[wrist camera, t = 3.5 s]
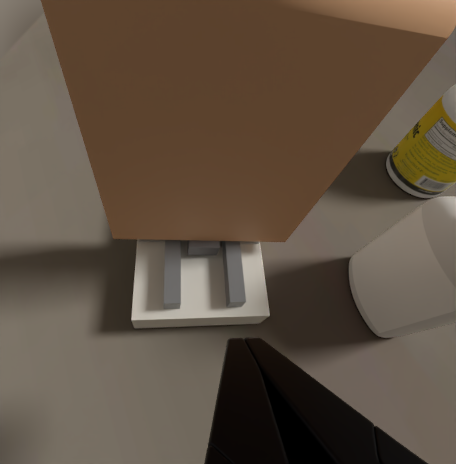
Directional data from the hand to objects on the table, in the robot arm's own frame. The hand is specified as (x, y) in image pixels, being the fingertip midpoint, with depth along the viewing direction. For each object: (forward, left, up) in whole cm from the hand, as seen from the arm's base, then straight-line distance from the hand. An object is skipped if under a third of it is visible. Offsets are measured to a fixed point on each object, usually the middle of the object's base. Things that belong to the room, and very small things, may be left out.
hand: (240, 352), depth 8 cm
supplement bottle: (+23, -7, -9) cm, 26 cm away
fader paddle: (+6, +4, -7) cm, 10 cm away
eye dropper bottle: (+10, -7, -9) cm, 15 cm away
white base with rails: (+8, +6, -9) cm, 14 cm away
